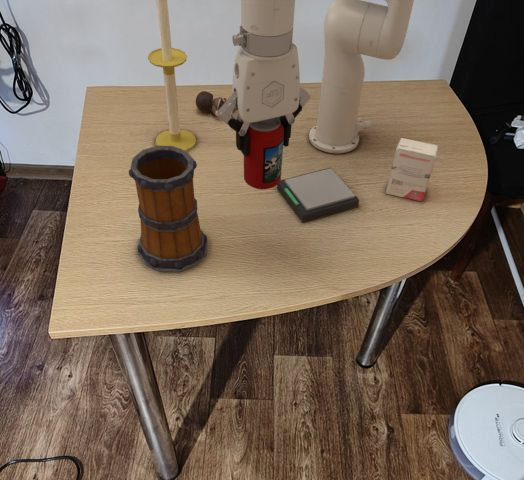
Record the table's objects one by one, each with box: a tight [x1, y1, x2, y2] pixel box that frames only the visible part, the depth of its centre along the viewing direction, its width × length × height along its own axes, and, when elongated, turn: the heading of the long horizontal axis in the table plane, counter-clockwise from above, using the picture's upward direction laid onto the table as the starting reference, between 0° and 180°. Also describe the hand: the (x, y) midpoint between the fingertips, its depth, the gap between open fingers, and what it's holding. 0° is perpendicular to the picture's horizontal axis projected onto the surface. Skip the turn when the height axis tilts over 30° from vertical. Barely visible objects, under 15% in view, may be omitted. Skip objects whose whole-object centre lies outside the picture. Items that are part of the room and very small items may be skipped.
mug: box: [128, 145, 209, 273], centre depth 107 cm, size 19×14×20 cm
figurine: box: [195, 90, 235, 118], centre depth 144 cm, size 8×5×10 cm
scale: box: [276, 167, 360, 223], centre depth 124 cm, size 14×13×3 cm
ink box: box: [385, 137, 439, 202], centre depth 123 cm, size 9×5×12 cm, turn 71°
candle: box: [147, 0, 197, 152], centre depth 122 cm, size 10×10×38 cm
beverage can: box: [243, 117, 284, 191], centre depth 96 cm, size 7×7×12 cm
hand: (263, 146), depth 95 cm, fingers closed on beverage can, 6 cm apart
